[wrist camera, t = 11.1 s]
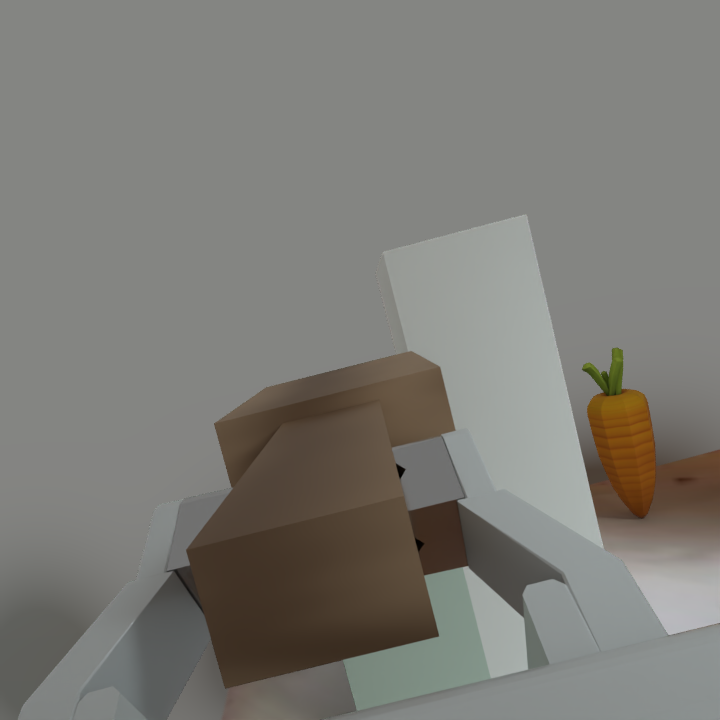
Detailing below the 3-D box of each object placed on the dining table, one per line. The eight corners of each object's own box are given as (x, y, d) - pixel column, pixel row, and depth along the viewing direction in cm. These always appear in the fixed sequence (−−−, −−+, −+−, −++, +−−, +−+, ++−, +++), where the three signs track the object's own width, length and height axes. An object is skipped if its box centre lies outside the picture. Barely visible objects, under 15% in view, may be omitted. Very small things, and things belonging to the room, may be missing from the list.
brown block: (423, 402, 25) (411, 350, 25) (583, 600, 7) (542, 423, 7) (279, 438, 25) (266, 387, 25) (83, 723, 7) (31, 550, 7)
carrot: (621, 535, 45) (582, 362, 44) (603, 511, 50) (567, 355, 49) (684, 524, 44) (646, 347, 43) (660, 501, 49) (624, 342, 48)
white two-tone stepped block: (550, 572, 42) (472, 247, 40) (635, 686, 29) (526, 214, 27) (365, 618, 42) (278, 298, 40) (368, 751, 29) (240, 289, 27)
